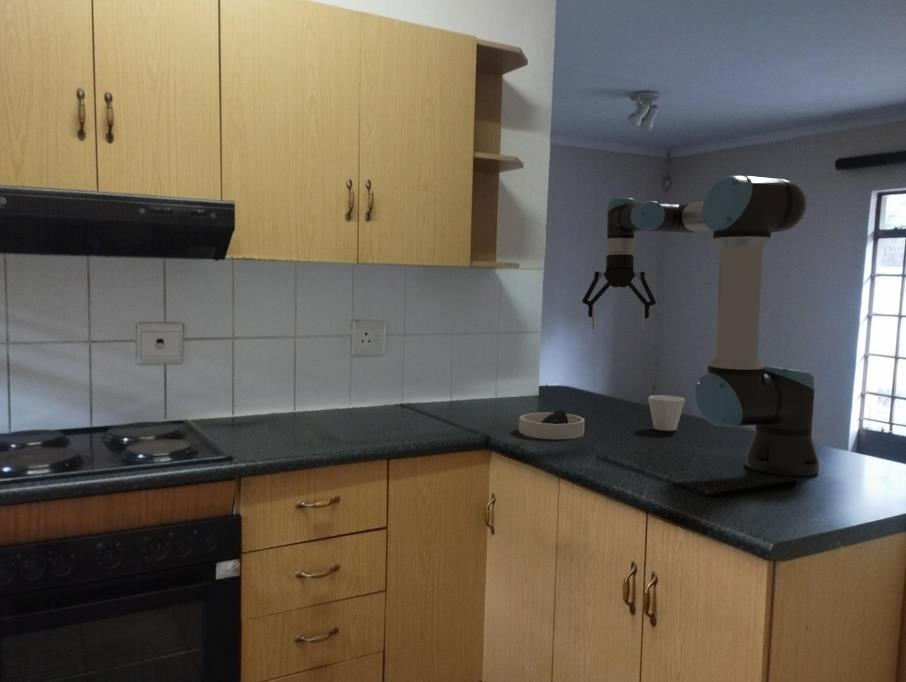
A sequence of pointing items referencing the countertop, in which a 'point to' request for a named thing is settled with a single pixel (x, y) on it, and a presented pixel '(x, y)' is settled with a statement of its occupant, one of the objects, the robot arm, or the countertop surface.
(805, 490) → the countertop surface
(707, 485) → the countertop surface
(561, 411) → the rock
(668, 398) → the cup
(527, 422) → the bowl
